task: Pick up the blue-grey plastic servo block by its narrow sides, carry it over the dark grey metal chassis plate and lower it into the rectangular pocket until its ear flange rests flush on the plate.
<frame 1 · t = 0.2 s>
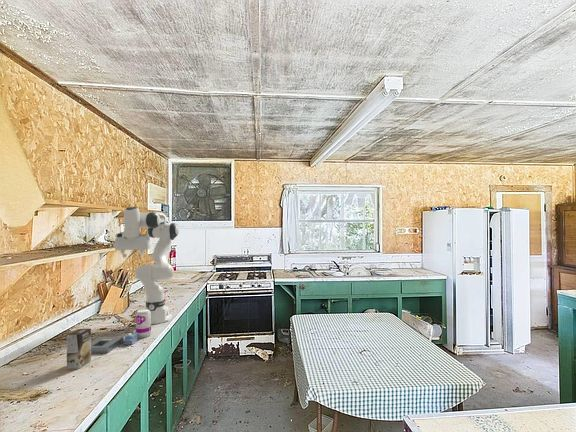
hand: (132, 257, 201), 47 cm above the worktop, tool pointing down, fingers open, 8 cm apart
coffee box: (79, 365, 162), on the worktop
servo: (131, 342, 191), on the worktop
chassis plate: (103, 347, 184), on the worktop
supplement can: (143, 336, 202), on the worktop
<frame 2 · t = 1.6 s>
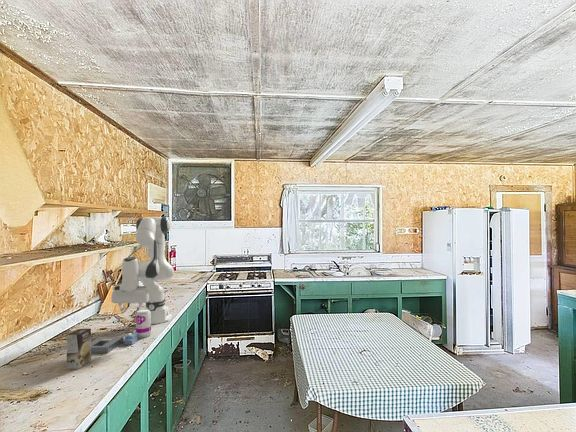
hand: (130, 310, 191), 18 cm above the worktop, tool pointing down, fingers open, 8 cm apart
nothing on the worktop moved.
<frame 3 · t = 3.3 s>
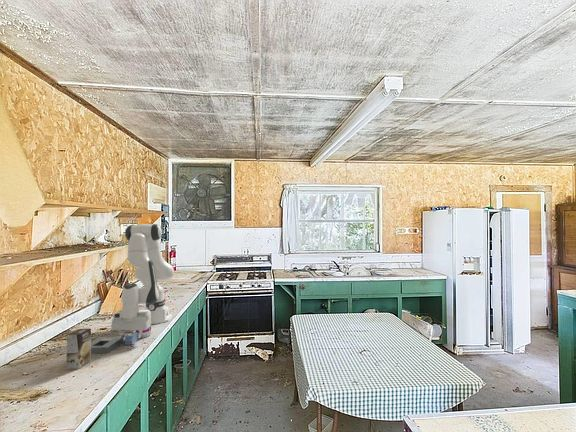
hand: (130, 337, 191), 3 cm above the worktop, tool pointing down, fingers open, 8 cm apart
nothing on the worktop moved.
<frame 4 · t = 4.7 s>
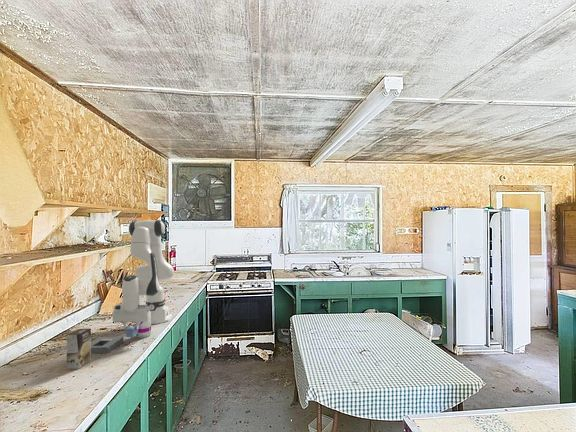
hand: (131, 329, 192), 7 cm above the worktop, tool pointing down, fingers closed on servo, 4 cm apart
servo: (132, 335, 193), point 4 cm above the worktop, tilted 5°, touching gripper
everything else where it was.
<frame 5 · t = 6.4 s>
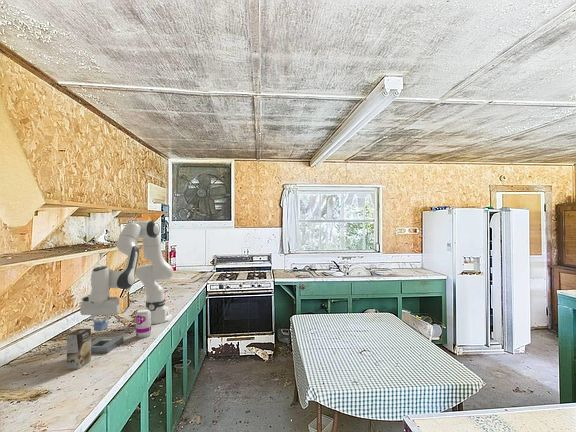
hand: (100, 322, 182), 14 cm above the worktop, tool pointing down, fingers closed on servo, 4 cm apart
servo: (100, 329, 183), point 11 cm above the worktop, touching gripper
everything else where it was.
when the fingers open (4 cm above the worktop, at t = 8.0 s): servo stays where it is, resting on chassis plate.
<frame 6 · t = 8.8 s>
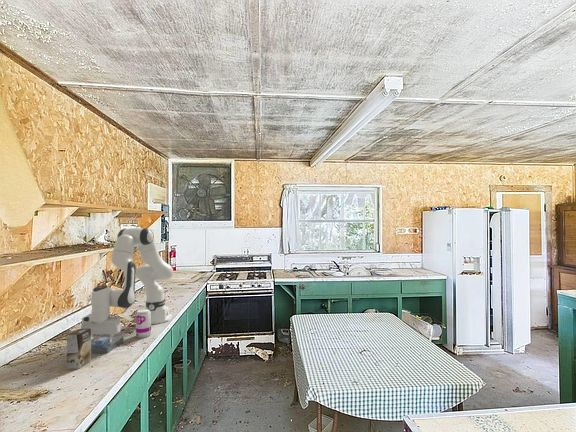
hand: (101, 342, 182), 4 cm above the worktop, tool pointing down, fingers open, 8 cm apart
servo: (101, 348, 183), resting on chassis plate
everything else where it was.
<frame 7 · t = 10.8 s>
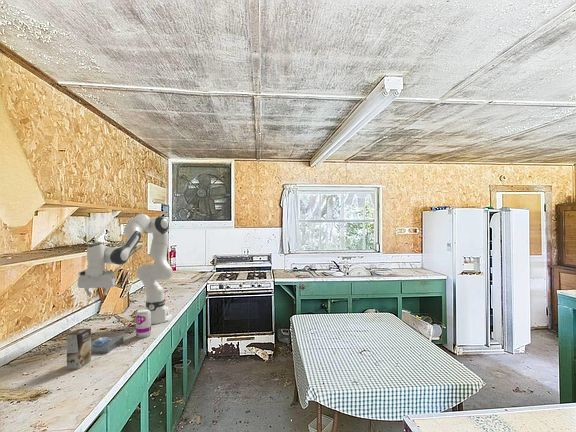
hand: (97, 295, 195), 26 cm above the worktop, tool pointing down, fingers open, 8 cm apart
nothing on the worktop moved.
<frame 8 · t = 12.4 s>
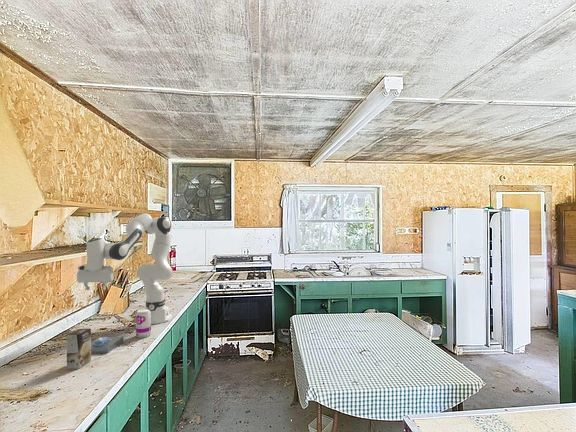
hand: (95, 289, 197), 29 cm above the worktop, tool pointing down, fingers open, 8 cm apart
nothing on the worktop moved.
at the end: servo 0.5 cm from the target spot on the chassis plate, point 0.3 cm above the chassis plate's base; servo tilted 0°; the gripper is holding nothing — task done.
